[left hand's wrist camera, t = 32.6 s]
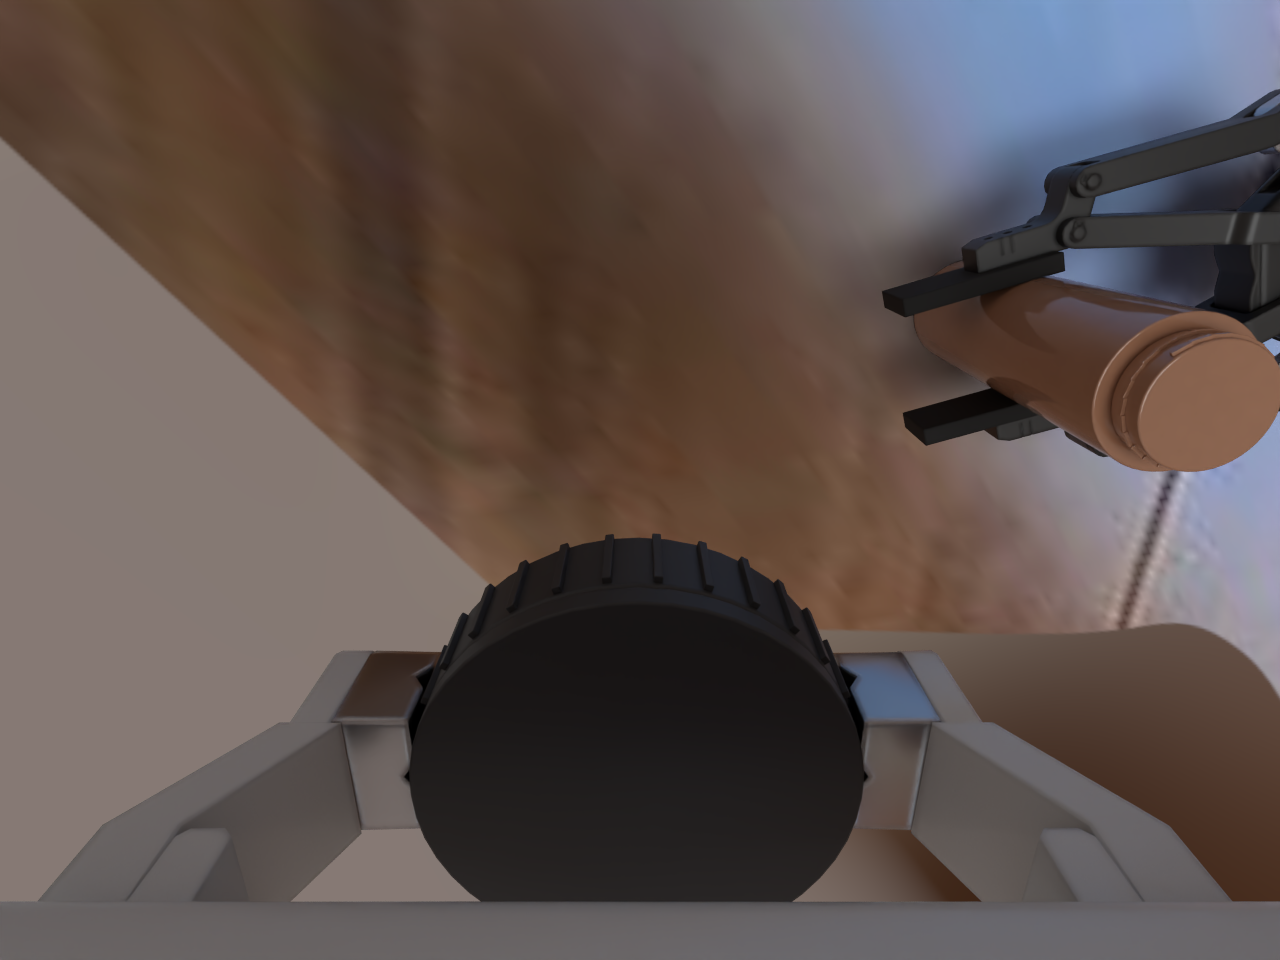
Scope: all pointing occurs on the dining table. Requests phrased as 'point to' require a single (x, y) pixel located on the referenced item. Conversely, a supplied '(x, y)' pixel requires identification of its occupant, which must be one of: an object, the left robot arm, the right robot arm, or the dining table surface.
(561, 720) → the lid
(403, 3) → the dining table surface
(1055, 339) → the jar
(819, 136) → the dining table surface
